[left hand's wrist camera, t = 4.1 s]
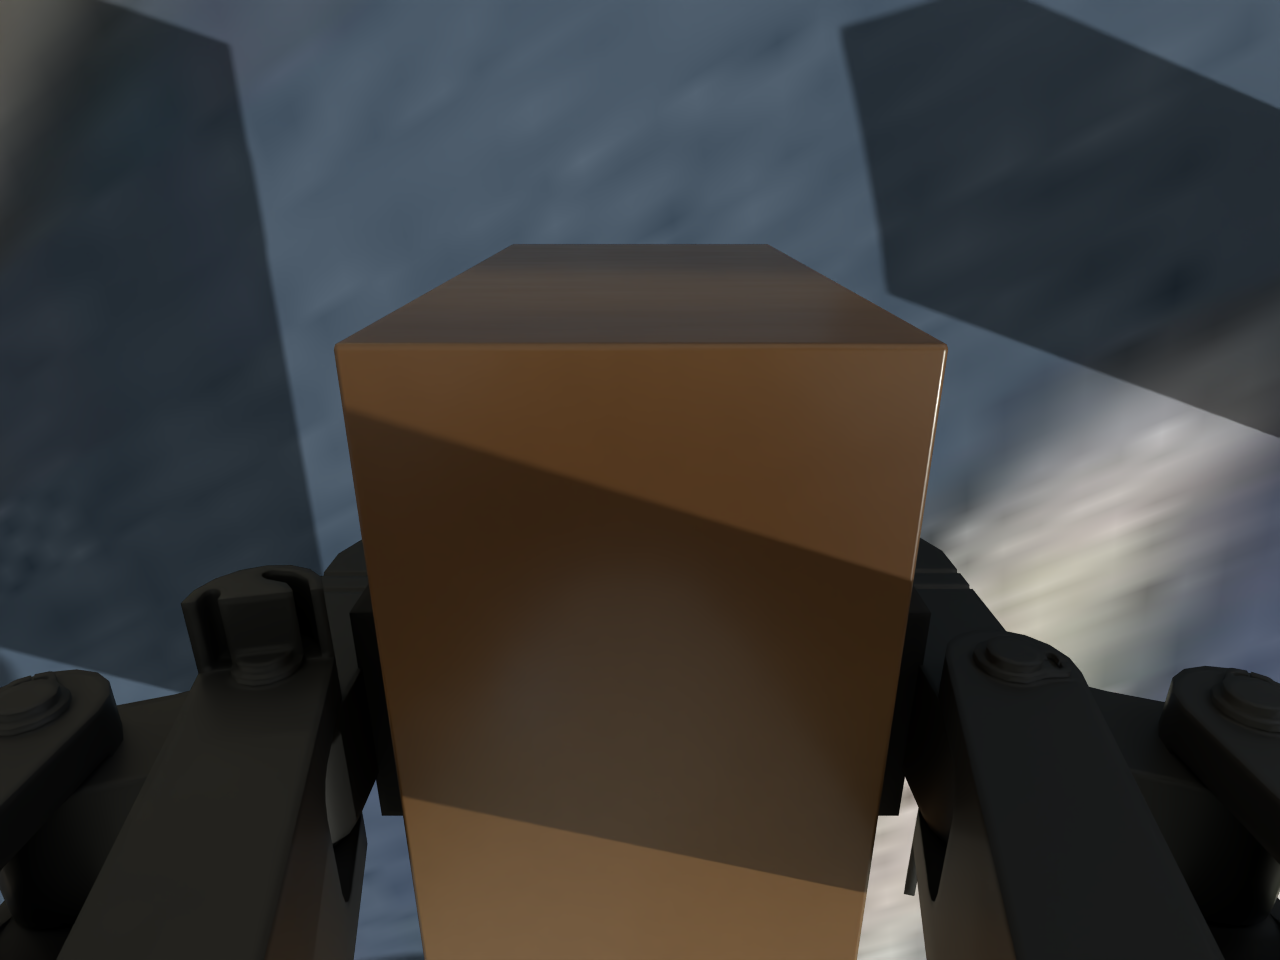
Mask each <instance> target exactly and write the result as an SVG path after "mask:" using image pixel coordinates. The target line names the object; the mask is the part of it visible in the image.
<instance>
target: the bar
mask: <svg viewBox="0 0 1280 960" xmlns="http://www.w3.org/2000/svg"><path fill="white" fill-rule="evenodd" d="M334 353H335V360H336V367H337V374H338V380H339V387H340V394H341V400H342V407H343V414H344V421H345V427H346V434H347V441H348V448H349V454H350V461H351V468H352V475H353V481H354V488H355V495H356V501H357V508H358V515H359V522H360V528H361V535H362V542H363V549H364V555H365V562H366V569H367V576H368V582H369V589H370V596H371V602H372V609H373V616H374V623H375V629H376V636H377V643H378V650H379V656H380V663H381V670H382V677H383V683H384V690H385V697H386V704H387V710H388V717H389V724H390V730H391V737H392V744H393V751H394V757H395V764H396V771H397V778H398V784H399V791H400V798H401V805H402V811H403V818H404V825H405V831H406V838H407V845H408V852H409V858H410V865H411V872H412V879H413V885H414V892H415V899H416V906H417V912H418V919H419V926H420V933H421V939H422V946H423V953H424V959H425V960H857V954H858V947H859V941H860V934H861V927H862V921H863V914H864V907H865V901H866V894H867V887H868V881H869V874H870V867H871V861H872V854H873V847H874V841H875V834H876V827H877V820H878V814H879V807H880V800H881V794H882V787H883V780H884V774H885V767H886V760H887V754H888V747H889V740H890V734H891V727H892V720H893V714H894V707H895V700H896V693H897V687H898V680H899V673H900V667H901V660H902V653H903V647H904V640H905V633H906V627H907V620H908V613H909V607H910V600H911V593H912V587H913V580H914V573H915V566H916V560H917V553H918V546H919V540H920V533H921V526H922V520H923V513H924V506H925V500H926V493H927V486H928V480H929V473H930V466H931V460H932V453H933V446H934V439H935V433H936V426H937V419H938V413H939V406H940V399H941V393H942V386H943V379H944V373H945V366H946V359H947V353H948V348H947V344H945V343H943V342H941V341H940V340H938V339H936V338H934V337H932V336H931V335H929V334H927V333H925V332H924V331H922V330H920V329H918V328H916V327H915V326H913V325H911V324H909V323H907V322H906V321H904V320H902V319H900V318H898V317H897V316H895V315H893V314H891V313H890V312H888V311H886V310H884V309H882V308H881V307H879V306H877V305H875V304H873V303H872V302H870V301H868V300H866V299H865V298H863V297H861V296H859V295H857V294H856V293H854V292H852V291H850V290H848V289H847V288H845V287H843V286H841V285H840V284H838V283H836V282H834V281H832V280H831V279H829V278H827V277H825V276H823V275H822V274H820V273H818V272H816V271H815V270H813V269H811V268H809V267H807V266H806V265H804V264H802V263H800V262H798V261H797V260H795V259H793V258H791V257H789V256H788V255H786V254H784V253H782V252H781V251H779V250H777V249H775V248H773V247H772V246H770V245H768V244H513V245H511V246H509V247H507V248H505V249H504V250H502V251H500V252H498V253H497V254H495V255H493V256H491V257H489V258H488V259H486V260H484V261H482V262H481V263H479V264H477V265H475V266H473V267H472V268H470V269H468V270H466V271H465V272H463V273H461V274H459V275H458V276H456V277H454V278H452V279H450V280H449V281H447V282H445V283H443V284H442V285H440V286H438V287H436V288H434V289H433V290H431V291H429V292H427V293H426V294H424V295H422V296H420V297H418V298H417V299H415V300H413V301H411V302H410V303H408V304H406V305H404V306H403V307H401V308H399V309H397V310H395V311H394V312H392V313H390V314H388V315H387V316H385V317H383V318H381V319H379V320H378V321H376V322H374V323H372V324H371V325H369V326H367V327H365V328H363V329H362V330H360V331H358V332H356V333H355V334H353V335H351V336H349V337H348V338H346V339H344V340H342V341H340V342H339V343H337V344H335V347H334Z"/></svg>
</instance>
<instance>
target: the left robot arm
mask: <svg viewBox="0 0 1280 960" xmlns="http://www.w3.org/2000/svg"><path fill="white" fill-rule="evenodd" d="M181 606H182V610H183V614H184V618H185V622H186V626H187V630H188V634H189V638H190V642H191V645H192V649H193V653H194V657H195V661H196V665H197V669H198V673H199V674H198V676H197V678H196V680H195V682H194V684H193V686H192V688H191V690H190V691H187V692H183V693H179V694H175V695H170V696H164V697H159V698H154V699H149V700H143V701H138V702H133V703H128V704H122V705H116V702H115V699H114V696H113V692H112V689H111V686H110V682H109V681H108V680H107V679H106V678H104V677H103V676H102V675H100V674H99V673H97V672H91V671H84V670H77V669H76V670H66V671H56V672H52V671H51V672H44V673H39V674H35V675H34V676H33V677H31V675H30V676H27V677H24V678H21V679H17V680H15V681H13V682H11V683H10V684H9V685H6V686H4V687H1V688H0V890H1V893H2V895H3V897H4V900H5V901H4V902H3V903H2V904H1V905H0V960H354V952H355V943H356V935H357V926H358V918H359V910H360V901H361V893H362V885H363V876H364V868H365V860H366V851H367V838H366V832H365V825H364V820H363V814H362V810H363V808H364V805H365V803H366V801H367V799H368V796H369V794H370V792H371V789H372V787H373V785H374V782H375V780H376V782H377V788H378V794H379V800H380V806H381V813H382V816H403V811H402V805H401V798H400V791H399V784H398V778H397V771H396V764H395V757H394V751H393V744H392V737H391V730H390V724H389V717H388V710H387V704H386V697H385V690H384V683H383V677H382V670H381V663H380V656H379V650H378V643H377V636H376V629H375V623H374V616H373V609H372V602H371V596H370V589H369V582H368V576H367V569H366V562H365V555H364V549H363V542H362V540H360V541H359V542H357V543H355V544H354V545H352V546H350V547H349V548H347V549H346V550H344V551H342V552H341V553H339V554H338V555H337V556H336V558H335V559H334V560H333V561H332V563H331V564H330V565H329V567H328V568H327V569H326V570H325V572H324V576H321V577H320V576H319V575H318V574H316V573H315V572H313V571H312V570H311V569H307V568H302V567H298V566H293V565H267V566H261V567H256V568H250V569H245V570H240V571H237V572H234V573H231V574H228V575H225V576H222V577H219V578H216V579H214V580H212V581H210V582H208V583H207V584H205V585H203V586H201V587H199V588H198V589H196V590H194V591H193V592H192V593H191V594H190V595H189V596H188V597H187V598H186V599H185V600H184V601H183V602H182V603H181ZM905 777H906V780H907V782H908V784H909V787H910V789H911V791H912V793H913V796H914V798H915V800H916V802H917V805H918V807H919V808H918V814H917V820H916V825H915V831H914V837H913V843H912V848H911V854H910V860H909V866H908V871H907V877H906V884H905V890H904V894H907V895H912V896H914V895H915V890H916V884H917V883H918V891H919V900H920V908H921V916H922V925H923V933H924V941H925V950H926V958H927V960H1280V900H1279V899H1278V898H1277V897H1278V894H1279V892H1280V683H1277V682H1275V681H1273V680H1272V679H1270V678H1269V677H1266V676H1263V675H1260V674H1257V673H1254V672H1251V673H1248V672H1247V671H1246V670H1241V669H1236V668H1221V667H1211V666H1202V667H1195V668H1188V669H1184V670H1182V671H1181V672H1180V673H1178V674H1177V675H1176V676H1174V677H1173V678H1172V681H1171V685H1170V688H1169V691H1168V694H1167V698H1166V701H1165V702H1161V701H1156V700H1150V699H1145V698H1140V697H1134V696H1129V695H1124V694H1119V693H1113V692H1108V691H1104V690H1100V689H1096V688H1092V687H1089V686H1088V684H1087V682H1086V680H1085V678H1084V676H1083V674H1082V672H1081V671H1080V670H1079V669H1078V668H1077V666H1076V665H1075V664H1074V663H1073V662H1072V660H1071V659H1070V658H1069V657H1067V656H1066V655H1064V654H1063V653H1061V652H1060V651H1058V650H1057V649H1055V648H1053V647H1052V646H1050V645H1048V644H1046V643H1043V642H1041V641H1038V640H1036V639H1033V638H1031V637H1028V636H1026V635H1022V634H1017V633H1012V632H1007V631H1006V630H1005V629H1004V628H1003V627H1002V625H1001V624H1000V623H999V622H998V620H997V619H996V618H995V617H994V615H993V614H992V613H991V612H990V610H989V609H988V608H987V607H986V605H985V604H984V603H983V602H982V600H981V599H980V598H979V597H978V595H977V594H976V593H975V591H974V590H973V589H970V588H969V584H968V583H967V581H966V580H965V579H964V578H963V576H962V575H961V574H960V573H957V569H956V568H955V566H954V565H953V564H952V563H951V561H950V560H949V559H948V558H947V556H946V555H945V554H944V553H943V551H941V550H940V549H938V548H936V547H935V546H933V545H931V544H930V543H928V542H926V541H925V540H923V539H921V538H920V540H919V546H918V553H917V560H916V566H915V573H914V580H913V587H912V593H911V600H910V607H909V613H908V620H907V627H906V633H905V640H904V647H903V653H902V660H901V667H900V673H899V680H898V687H897V693H896V700H895V707H894V714H893V720H892V727H891V734H890V740H889V747H888V754H887V760H886V767H885V774H884V780H883V787H882V794H881V800H880V807H879V814H878V816H899V810H900V803H901V797H902V791H903V785H904V779H905Z"/></svg>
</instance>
